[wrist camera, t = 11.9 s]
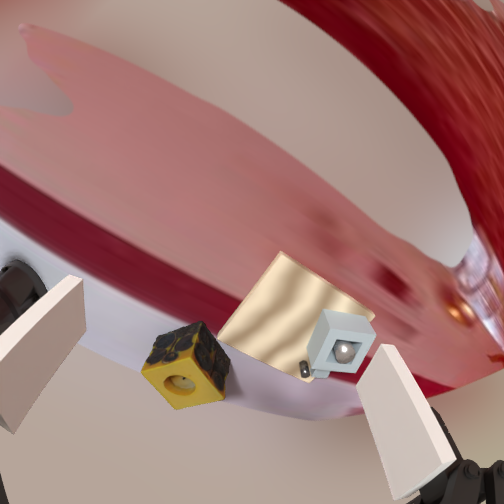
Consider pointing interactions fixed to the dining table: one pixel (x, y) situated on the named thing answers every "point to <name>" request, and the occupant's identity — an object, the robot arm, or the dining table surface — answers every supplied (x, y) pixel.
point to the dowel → (304, 369)
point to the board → (285, 315)
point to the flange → (340, 328)
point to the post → (344, 351)
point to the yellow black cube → (188, 367)
